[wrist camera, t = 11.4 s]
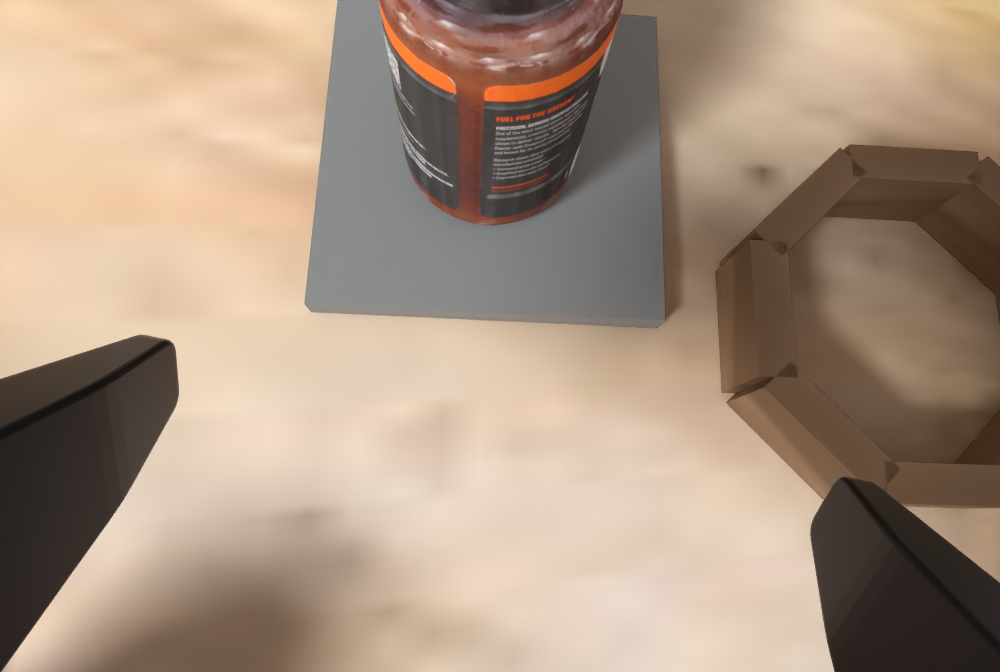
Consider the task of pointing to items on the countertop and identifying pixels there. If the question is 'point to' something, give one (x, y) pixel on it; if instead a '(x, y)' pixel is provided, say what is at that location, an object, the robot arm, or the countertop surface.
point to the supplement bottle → (495, 97)
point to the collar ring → (770, 328)
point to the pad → (476, 247)
